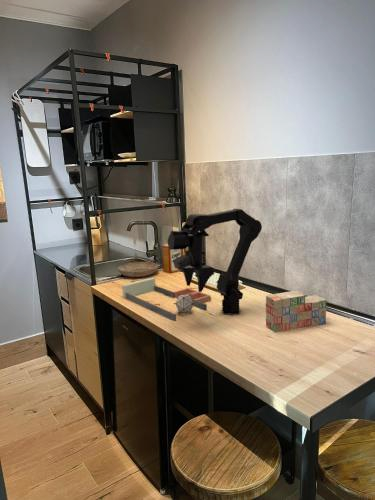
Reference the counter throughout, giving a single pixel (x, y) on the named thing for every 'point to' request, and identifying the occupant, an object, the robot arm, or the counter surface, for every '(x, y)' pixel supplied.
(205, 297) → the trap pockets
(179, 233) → the robot arm
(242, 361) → the counter surface
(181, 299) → the game die
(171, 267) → the baking soda box
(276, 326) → the stack of blocks
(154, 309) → the lane rails
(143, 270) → the ceramic bowl
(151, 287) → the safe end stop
